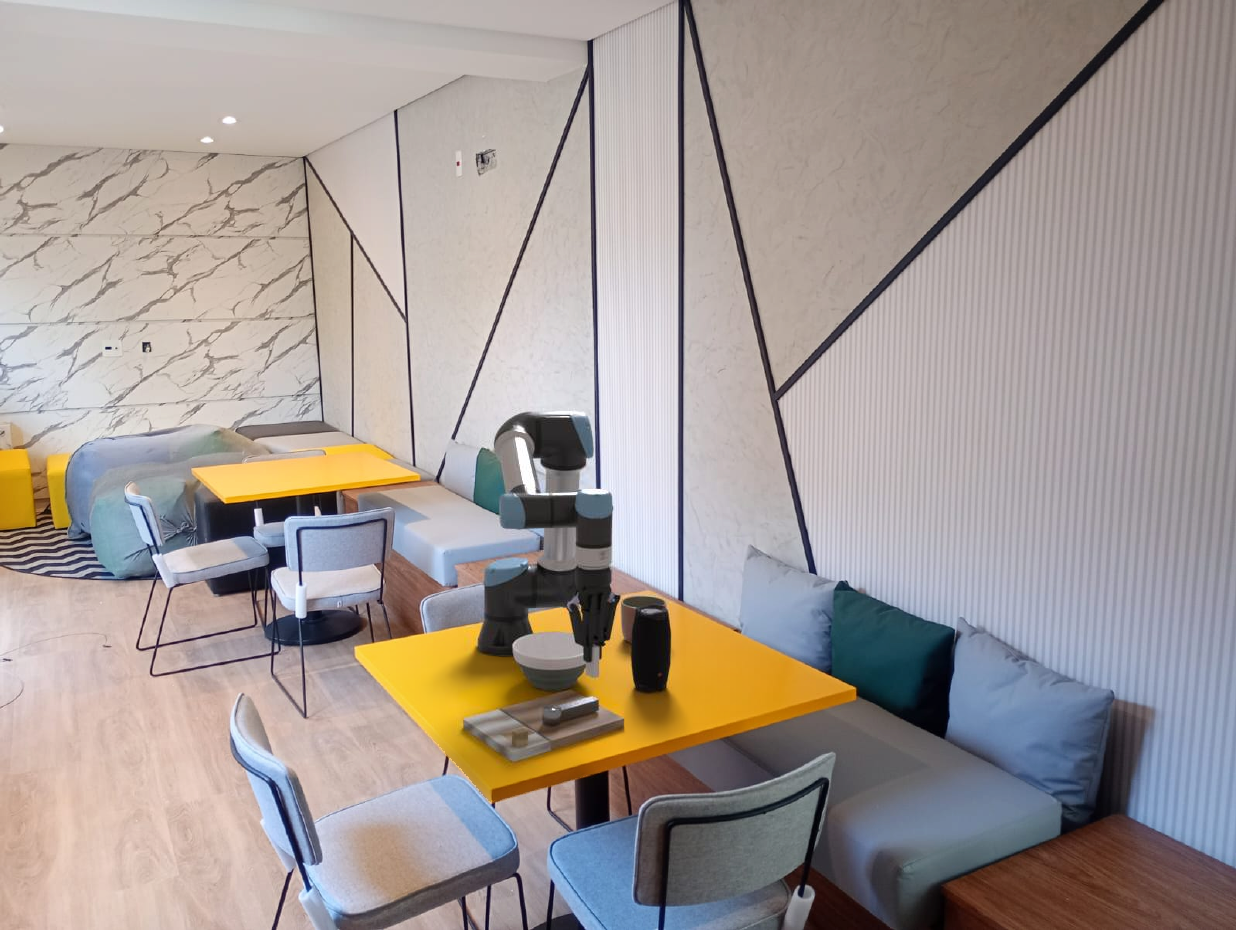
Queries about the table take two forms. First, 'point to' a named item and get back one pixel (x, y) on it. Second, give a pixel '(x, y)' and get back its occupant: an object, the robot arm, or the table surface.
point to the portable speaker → (651, 648)
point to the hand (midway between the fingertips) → (592, 675)
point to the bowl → (550, 659)
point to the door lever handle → (569, 710)
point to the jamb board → (538, 727)
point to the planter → (629, 611)
